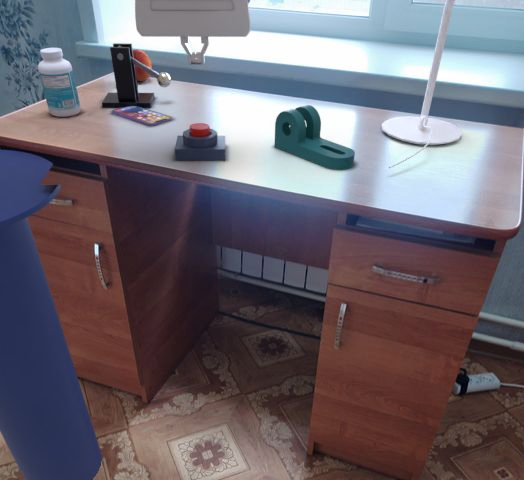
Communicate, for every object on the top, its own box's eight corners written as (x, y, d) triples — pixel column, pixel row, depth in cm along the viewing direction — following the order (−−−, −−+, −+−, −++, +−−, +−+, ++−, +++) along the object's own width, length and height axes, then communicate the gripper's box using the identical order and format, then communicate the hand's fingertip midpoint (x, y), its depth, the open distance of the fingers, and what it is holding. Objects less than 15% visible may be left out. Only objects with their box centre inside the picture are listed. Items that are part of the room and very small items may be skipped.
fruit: (120, 81, 145) (115, 49, 140) (141, 76, 150) (137, 45, 144) (138, 86, 141) (134, 54, 136) (159, 80, 146) (156, 49, 141)
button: (189, 138, 101) (189, 129, 100) (190, 131, 104) (190, 122, 103) (209, 138, 101) (209, 129, 100) (210, 131, 104) (209, 122, 103)
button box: (175, 160, 102) (173, 140, 99) (178, 146, 108) (176, 126, 105) (225, 160, 102) (224, 140, 99) (225, 146, 108) (224, 126, 105)
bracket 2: (274, 146, 108) (275, 107, 103) (296, 139, 112) (298, 101, 107) (338, 172, 99) (343, 130, 93) (360, 163, 102) (366, 123, 97)
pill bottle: (61, 107, 126) (47, 45, 117) (87, 110, 124) (74, 47, 115) (43, 115, 121) (26, 51, 112) (69, 119, 119) (55, 54, 110)
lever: (167, 88, 130) (173, 75, 128) (166, 91, 127) (172, 79, 125) (115, 55, 124) (120, 42, 122) (113, 59, 122) (118, 45, 120)
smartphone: (134, 108, 128) (174, 121, 121) (110, 114, 124) (150, 128, 117) (133, 104, 127) (174, 117, 120) (109, 110, 123) (150, 124, 116)
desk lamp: (381, 116, 125) (423, -134, 95) (456, 122, 123) (523, -133, 93) (378, 175, 98) (435, -151, 68) (474, 184, 95) (577, -149, 66)
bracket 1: (154, 97, 134) (148, 42, 125) (150, 108, 127) (143, 50, 118) (108, 97, 133) (99, 41, 124) (102, 107, 126) (91, 49, 118)
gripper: (251, -30, 87) (251, 60, 97) (132, -31, 87) (144, 60, 96) (252, -26, 83) (252, 68, 92) (127, -27, 82) (140, 68, 91)
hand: (196, 64), depth 94 cm, fingers closed
